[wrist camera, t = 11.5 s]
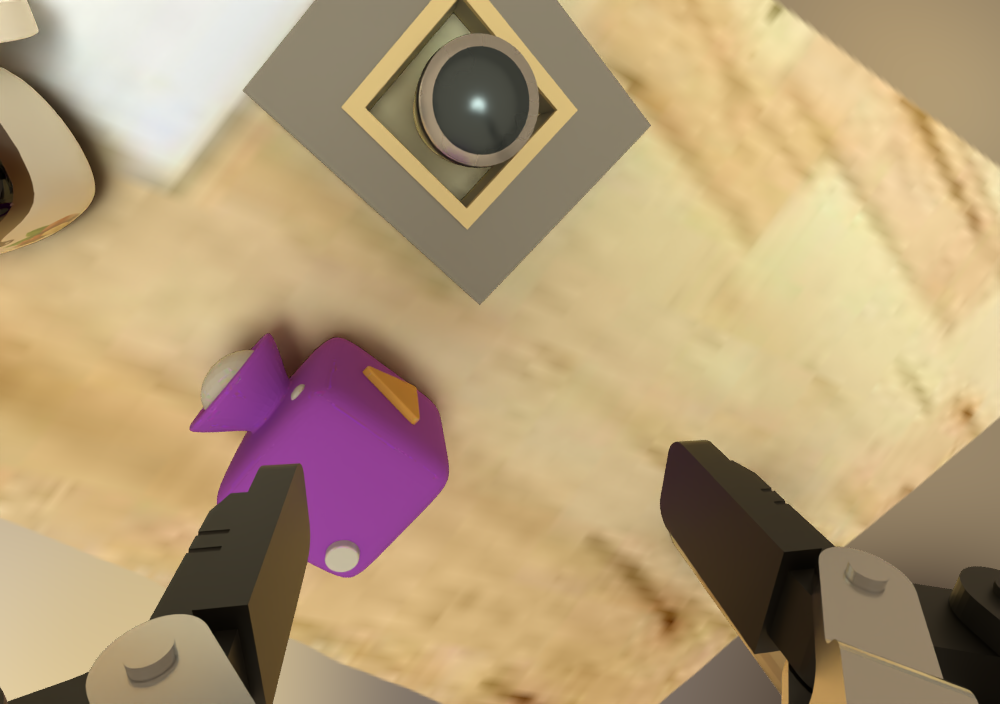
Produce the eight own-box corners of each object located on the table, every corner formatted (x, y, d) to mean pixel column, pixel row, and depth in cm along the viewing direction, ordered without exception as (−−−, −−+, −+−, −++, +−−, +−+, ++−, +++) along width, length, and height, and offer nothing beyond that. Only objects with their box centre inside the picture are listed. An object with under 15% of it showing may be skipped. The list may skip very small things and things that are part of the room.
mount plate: (628, 127, 32) (655, 125, 28) (472, 292, 34) (481, 307, 30) (435, -123, 25) (441, -162, 22) (257, 96, 27) (239, 89, 24)
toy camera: (263, 283, 31) (208, 339, 22) (456, 380, 36) (479, 460, 27) (189, 425, 33) (113, 530, 24) (381, 498, 38) (377, 609, 29)
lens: (523, 114, 30) (567, 104, 23) (460, 182, 31) (482, 195, 23) (457, 36, 28) (481, -4, 21) (391, 111, 29) (391, 100, 21)
